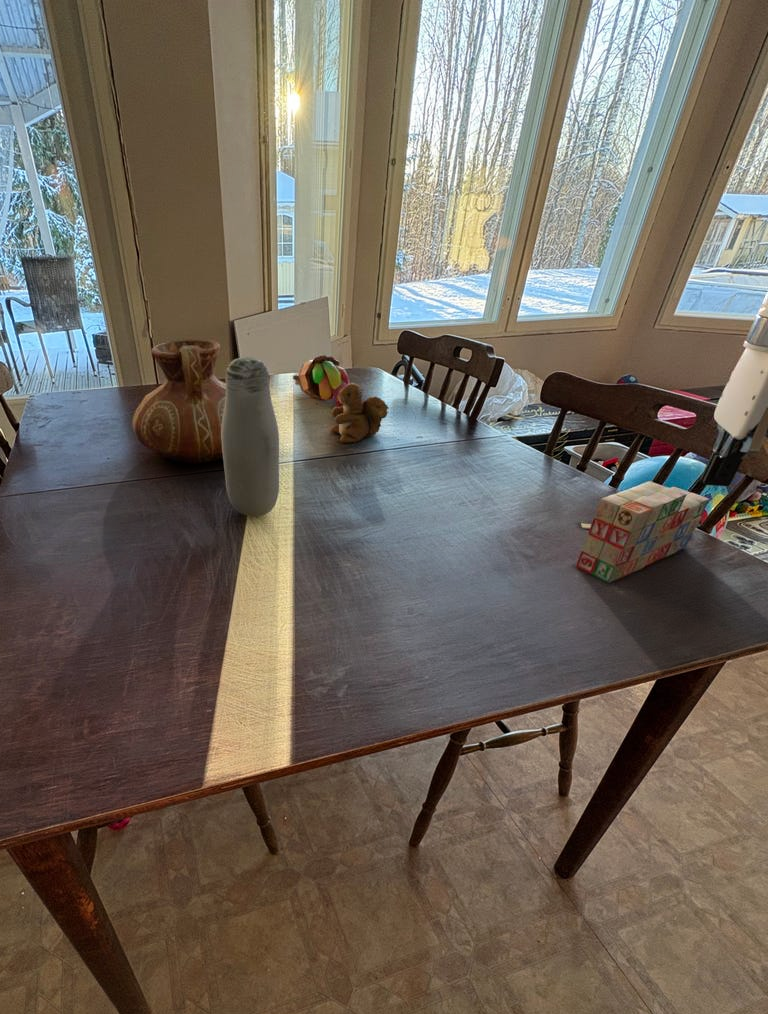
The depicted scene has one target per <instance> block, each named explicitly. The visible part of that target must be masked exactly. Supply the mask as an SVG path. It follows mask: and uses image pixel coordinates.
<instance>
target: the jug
mask: <svg viewBox="0 0 768 1014" xmlns="http://www.w3.org/2000/svg"><path fill="white" fill-rule="evenodd" d="M220 350H221V344H220V343H219V342H218V341H214V340H212V339H211V340H210V339H209V340H208V339H191V338H190V339H177V340H170V341H166V342H163V343H158V344H156V345H154V346H153V347H152V348H151V350H150V352H151V355H152V356H153V358H154V360H155V361H156V363H157V364H158V365H159V367H160V369H161V371H162V373H163V375H164V378H165V380H164V382H163V384H161V385H159V386H158V387H156V388H155V389H154V390H153V391H151V392H149V393H147V394H146V395H145V396H144V397H143V399H142V400H141V402H139V405H138V406H137V408H136V409H135V411H134V414H133V417H132V419H131V425H132V429H133V431H134V434H135V437H136V439H137V441H139V442H140V444H142V446H144V447H145V448H147V449H150V451H152V452H154V453H157V454H159V455H160V456H162V457H164V458H166V459H169V460H171V461H175V462H178V463H183V464H205V463H210V462H215V461H218V460H221V459H223V452H222V441H221V427H222V419H223V414H224V408H225V398H226V382H224V381H222V380H221V379H220V380H219V379H218V378H217V377H216V376H215V366H216V363H217V360H218V355H219V353H220Z"/></svg>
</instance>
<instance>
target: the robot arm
mask: <svg viewBox="0 0 768 1014" xmlns="http://www.w3.org/2000/svg"><path fill="white" fill-rule="evenodd" d="M742 346H743V347H744V348H745V349H744V351H743V352H742V354H741V356H740V357H739V359H738V362H737V363H736V366H735V367H734V369H733V371H732V373H731V375H730V377H729V379H728V380H727V383H726V385H725V387H724V389H723V391H722V392H721V396H720V397H719V399H718V401H717V404H716V406H715V410H714V413H713V418H714V421H715V422H716V423H717V425H716V428H717V430H718V435H717V437H716V440H715V443H714V445H713V448H712V450H713V452H712V453H711V455H710V457H709V459H708V461H707V463H706V465H705V468H704V470H703V471H702V473H701V476H700V481H701V482H702V483H703V484H704V485H705V486H716V487H729V486H730V485H731V484H732V482H733V481H734V478H735V476H736V474H737V472H738V470H739V468H740V467H741V464H742V463H743V461H744V460H745V459H746V458H747V457H748V456H749V454H758V453H759V452H760V451H761V448H762V445H763V442H764V439H767V440H768V291H766V294H765V297H764V298H763V301H762V303H761V305H760V308H759V310H758V312H757V314H756V315H755V318H754V321H753V323H752V325H751V326H750V328H749V332H748V333H747V336H746V338H745V340H744V343H743V344H742Z"/></svg>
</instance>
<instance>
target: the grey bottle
mask: <svg viewBox="0 0 768 1014" xmlns="http://www.w3.org/2000/svg"><path fill="white" fill-rule="evenodd" d="M270 379H271V378H270V373H269V370H268V368H267V366H266V365H265V363H264V362H263V361H262V360H260V359H258V358H255V357H251V356H245V357H244V356H242V357H237V358H235V359H233V360H232V361H231V362H230V363H229V364H228V366H227V368H226V372H225V383H226V398H225V408H224V414H223V419H222V427H221V441H222V452H223V458H222V460H223V468H224V478H225V479H224V480H225V487H226V488H225V489H226V493H227V498H228V500H229V502H230V504H231V505H232V507H233V509H235V510H236V512H238V513H240V514H241V515H243V516H246V517H253V518H256V517H257V518H258V517H262V516H265V515H267V514H269V513H270V512H271V511H272V510H273V509H274V508H275V506H276V504H277V502H278V497H279V492H280V433H279V426H278V421H277V417H276V413H275V409H274V405H273V402H272V395H271V386H270V385H271V383H270V381H271V380H270Z"/></svg>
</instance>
